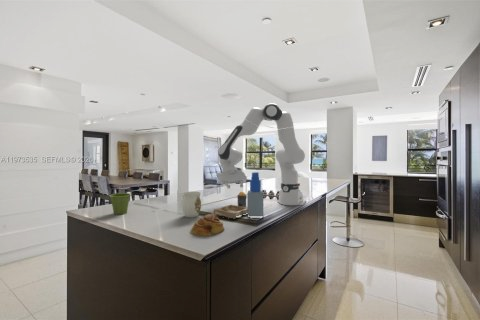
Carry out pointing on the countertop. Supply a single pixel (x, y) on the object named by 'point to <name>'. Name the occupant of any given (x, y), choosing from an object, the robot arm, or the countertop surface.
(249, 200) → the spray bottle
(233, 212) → the birch tray
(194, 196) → the pitcher
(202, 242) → the countertop surface
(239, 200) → the black shaker
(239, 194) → the orange ball
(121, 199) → the plant pot
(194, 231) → the pastry
